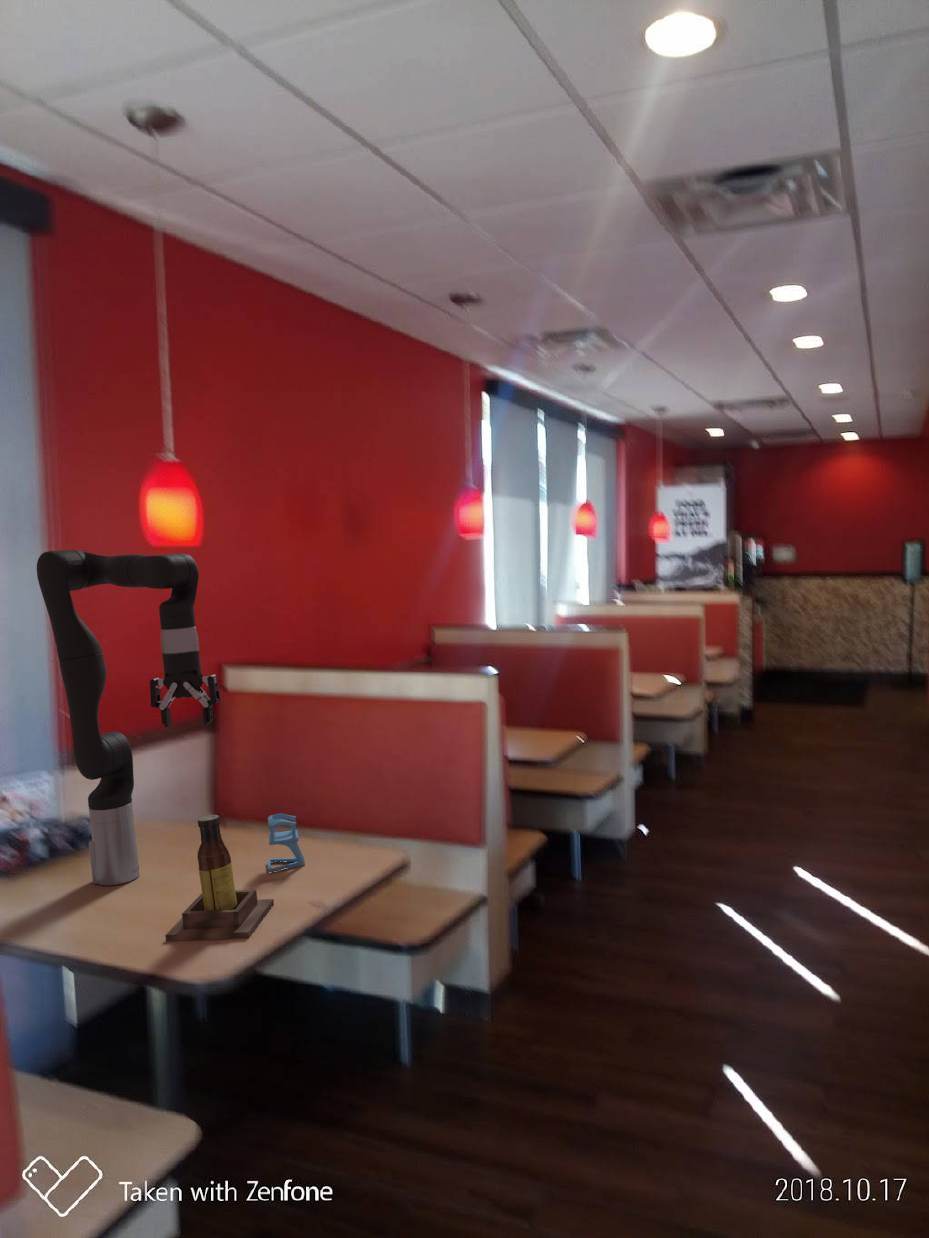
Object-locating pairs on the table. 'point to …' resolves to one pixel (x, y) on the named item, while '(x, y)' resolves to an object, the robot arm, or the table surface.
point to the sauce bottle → (215, 867)
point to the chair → (284, 841)
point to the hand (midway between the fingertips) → (188, 725)
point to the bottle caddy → (221, 919)
